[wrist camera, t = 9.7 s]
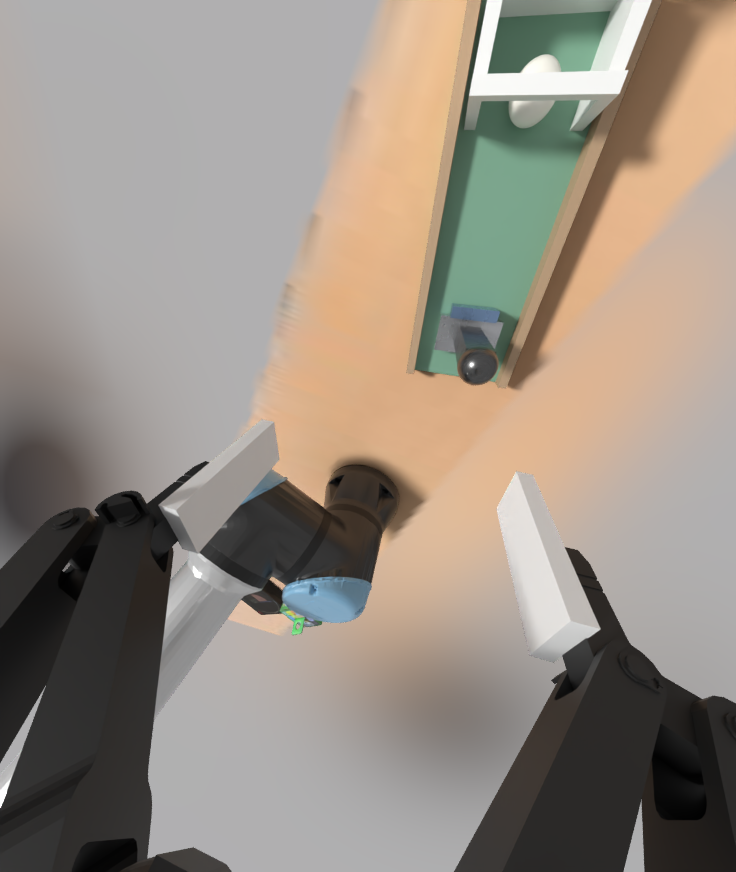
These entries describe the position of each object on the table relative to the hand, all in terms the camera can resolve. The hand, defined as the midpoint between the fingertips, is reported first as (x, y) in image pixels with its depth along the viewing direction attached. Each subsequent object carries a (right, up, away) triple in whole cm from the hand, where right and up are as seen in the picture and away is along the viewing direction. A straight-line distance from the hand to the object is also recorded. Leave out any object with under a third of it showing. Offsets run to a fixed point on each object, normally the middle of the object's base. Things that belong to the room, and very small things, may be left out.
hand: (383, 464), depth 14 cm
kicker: (+12, +14, +18) cm, 26 cm away
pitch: (+13, +23, +14) cm, 30 cm away
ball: (+13, +29, +7) cm, 33 cm away
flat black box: (-38, -54, +80) cm, 104 cm away
